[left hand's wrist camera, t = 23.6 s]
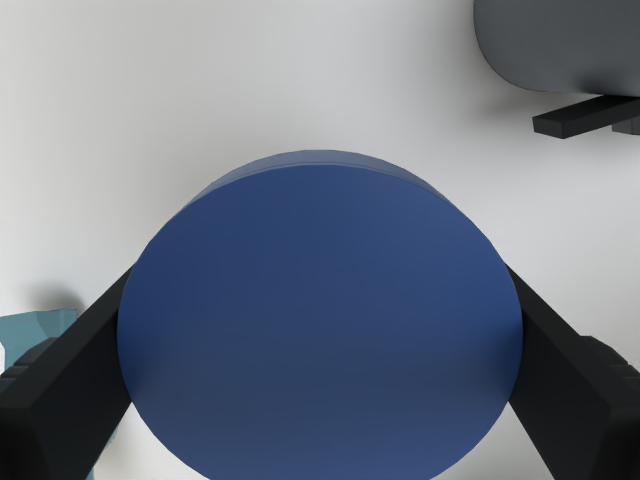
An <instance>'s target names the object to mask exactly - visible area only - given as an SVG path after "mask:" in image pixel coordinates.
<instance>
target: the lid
mask: <svg viewBox="0 0 640 480" xmlns="http://www.w3.org/2000/svg"><path fill="white" fill-rule="evenodd" d="M116 335H117V351H118V357H119V362H120V367H121V372H122V376H123V380H124V383H125V385H126V388H127V391H128V393H129V396H130V398H131V400H132V402H133V404H134V406H135V407H136V409H137V411H138V413H139V415H140V417H141V418H142V419H143V421H144V422H145V423H146V425H147V426H148V427H149V429H150V430H151V432H152V433H153V434H154V435H155V436H156V437H157V439H158V440H159V441H160V442H161V443H162V444H163V445H164V446H165V447H166V448H167V449H168V450H169V451H170V452H171V453H173V454H174V455H175V456H176V457H177V458H179V459H180V460H181V461H182V462H183V463H185V464H186V465H187V466H189V467H191V468H192V469H194V470H195V471H197V472H198V473H200V474H201V475H203V476H204V477H206V478H208V479H210V480H430V479H432V478H433V477H435V476H437V475H439V474H440V473H442V472H443V471H445V470H446V469H448V468H449V467H451V466H452V465H454V464H455V463H457V462H458V461H459V460H460V459H461V458H462V457H464V456H465V455H466V454H467V453H468V452H470V451H471V450H472V449H473V448H474V447H475V446H476V445H477V444H478V443H479V441H480V440H481V439H482V438H483V437H484V436H485V435H486V434H487V433H488V432H489V430H490V429H491V427H492V426H493V425H494V423H495V422H496V420H497V419H498V418H499V416H500V415H501V413H502V411H503V409H504V407H505V405H506V403H507V402H508V400H509V398H510V396H511V393H512V391H513V388H514V385H515V382H516V379H517V377H518V372H519V368H520V363H521V358H522V352H523V323H522V314H521V306H520V303H519V299H518V296H517V292H516V289H515V285H514V283H513V281H512V278H511V276H510V274H509V272H508V270H507V268H506V266H505V263H504V261H503V260H502V258H501V257H500V255H499V254H498V253H497V251H496V250H495V248H494V247H493V245H492V244H491V242H490V241H489V239H488V238H487V237H486V236H485V235H484V234H483V233H482V232H481V231H480V230H479V229H478V228H477V227H476V225H475V224H474V223H473V222H472V221H471V220H470V219H469V218H468V217H466V216H465V215H464V214H463V213H462V212H461V211H460V210H459V209H458V208H457V207H456V206H454V205H453V204H452V203H451V202H450V201H449V200H448V199H447V198H446V197H445V196H443V195H442V194H441V193H440V192H438V191H437V190H436V189H435V188H433V187H432V186H431V185H430V184H428V183H427V182H426V181H424V180H422V179H421V178H419V177H417V176H415V175H414V174H412V173H410V172H409V171H407V170H405V169H403V168H401V167H398V166H396V165H393V164H391V163H389V162H386V161H384V160H381V159H377V158H374V157H370V156H366V155H362V154H358V153H352V152H344V151H336V150H303V151H296V152H289V153H282V154H277V155H274V156H270V157H266V158H263V159H259V160H256V161H253V162H251V163H249V164H246V165H244V166H242V167H240V168H237V169H235V170H233V171H231V172H229V173H228V174H226V175H224V176H223V177H221V178H219V179H218V180H216V181H215V182H213V183H211V184H210V185H209V186H208V187H207V188H205V189H204V190H203V191H202V192H200V193H199V194H198V195H197V196H196V197H194V198H193V199H192V200H191V201H190V202H189V203H188V204H187V205H186V206H184V207H183V208H182V209H181V210H180V211H179V212H178V213H177V214H176V215H175V216H173V217H172V218H171V219H170V220H169V221H168V222H167V223H166V224H165V225H164V226H163V227H162V228H161V230H160V231H159V232H158V233H157V234H156V235H155V236H154V237H153V239H152V240H151V241H150V242H149V243H148V245H147V246H146V248H145V249H144V251H143V252H142V254H141V255H140V257H139V258H138V260H137V262H136V263H135V265H134V267H133V269H132V272H131V274H130V276H129V278H128V281H127V283H126V285H125V288H124V292H123V295H122V299H121V303H120V307H119V312H118V322H117V332H116Z"/></svg>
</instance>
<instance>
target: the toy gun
mask: <svg viewBox="0 0 640 480" xmlns="http://www.w3.org/2000/svg"><path fill="white" fill-rule="evenodd" d="M76 320H77V310H76V309H59V310H53V311H46V312H41V311H34V312H28V313H22V314H15V315H9V316H3V317H0V342H1V344H2V345H3V347H4V348H5V370H7V369H8V368H9V367H10V366H13V363H14V362H15V361H16V360H18V359H19V358H20V357H21V356H22V355H23V354H24V353H25V352H26V351H27V350H28V349H30V348H32V347H34V346H35V345H37V344H39V343H41V342H42V341H44V340H46V339H48V338H49V337H59V336H61V335H62V334H63V333H64V332H65V331H66V330H67V329H68V328H69V327H70V326H71V325H72V324H73V323H74V322H75V321H76ZM118 426H119V424H118ZM118 426H117V427H116V429H115V431H114V432H113V434H112V436H111V438H110V439H109V441H108V443H107V444H106V446H105V448H106V447H107V446H108V445H109V444H110V443H111V442H112V440H113V439H114V437H115V435H116V432H117V429H118ZM105 448H104V449H105ZM104 449H103V450H104ZM100 455H101V454H100ZM99 458H100V456H99ZM99 458H98V459H99ZM97 461H98V460H97ZM97 461H96V462H97ZM95 464H96V463H95ZM93 467H94V466H93ZM86 480H94V469H93V468H92V470H91V471H90V473H89V475H88V476H87V478H86Z"/></svg>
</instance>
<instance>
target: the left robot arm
mask: <svg viewBox="0 0 640 480" xmlns="http://www.w3.org/2000/svg"><path fill="white" fill-rule="evenodd" d="M504 263H505V262H504ZM134 265H135V264H134ZM134 265H133V266H132V267H130V268H129V269H128V270H127V271H126V272H125V273H124V274H123V275H122V276H121V277H120V278H119V279H118V280H117V281H116V282H115V283H114V284H113V285H112V286H111V287H110V288H109V289H108V290H107V291H106V292H105V293H104V294H103V295H102V296H101V297H100V298H99V299H98V300H97V301H95V302H94V303H93V304H92V305H91V306H90V307H89V308H88V309H87V310H86V311H85V312H84V313H83V314H82V315H81V316H80V317H79V318H78V319H77V320H76V321H75V322H74V323H73V324H72V325H71V326H70V327H69V328H68V329H67V330H66V331H65V332H64V333H63V334H62V335H61V336H59V337H49V338H48V339H46V340H44V341H42V342H41V343H39V344H37V345H35V346H34V347H32V348H30V349H28V350H27V351H26V352H25V353H24V354H23V355H22V356H21V357H20V358H19V359H18V360H16V361H15V362H14V363H13V366H10V367H9V368H8V369H7V370H5V371H4V372H3V373H2V374H1V375H0V480H86V478H87V476H88V475H89V473H90V471H91V470H92V468H93V466H94V465H95V463H96V461H97V460H98V458H99V456H100V454H101V453H102V451H103V449H104V448H105V446H106V444H107V443H108V441H109V439H110V438H111V436H112V434H113V432H114V431H115V429H116V427H117V426H118V424H119V422H120V421H121V419H122V417H123V416H124V414H125V412H126V410H127V409H128V407H129V405H130V404H131V402H132V400H131V398H130V396H129V393H128V391H127V388H126V385H125V383H124V380H123V376H122V372H121V367H120V362H119V357H118V351H117V335H116V332H117V322H118V312H119V307H120V303H121V299H122V295H123V292H124V288H125V285H126V283H127V281H128V278H129V276H130V274H131V272H132V269H133V267H134ZM505 266H506V268H507V270H508V272H509V274H510V276H511V278H512V281H513V283H514V285H515V289H516V292H517V296H518V299H519V303H520V306H521V314H522V323H523V352H522V358H521V363H520V368H519V372H518V377H517V379H516V382H515V385H514V388H513V391H512V393H511V396H510V398H509V400H508V402H509V403H510V405H511V407H512V408H513V410H514V412H515V413H516V415H517V417H518V418H519V420H520V422H521V424H522V425H523V427H524V429H525V430H526V432H527V434H528V435H529V437H530V439H531V440H532V442H533V444H534V446H535V447H536V449H537V451H538V452H539V454H540V456H541V457H542V459H543V461H544V462H545V464H546V466H547V468H548V469H549V471H550V473H551V474H552V476H553V478H554V479H555V480H640V373H639V372H638V371H637V370H636V369H635V368H634V367H633V366H631V365H628V362H627V361H626V360H625V359H624V358H623V357H622V356H620V355H619V354H618V353H617V352H616V351H615V350H614V349H613V348H611V347H610V346H608V345H606V344H604V343H602V342H601V341H599V340H597V339H595V338H594V337H592V336H580V335H579V334H578V333H577V332H576V331H575V330H574V329H573V328H572V327H571V326H570V325H568V324H567V323H566V322H565V321H564V320H563V319H562V318H561V317H560V316H559V315H558V314H557V313H556V312H555V311H554V310H553V309H552V308H551V307H550V306H549V305H548V304H547V303H546V302H545V301H544V300H543V299H542V298H541V297H540V296H539V295H538V294H537V293H536V292H535V291H533V290H532V289H531V288H530V287H529V286H528V285H527V284H526V283H525V282H524V281H523V280H522V279H521V278H520V277H519V276H518V275H517V274H516V273H515V272H514V271H513V270H512V269H511V268H510V267H509V266H508V265H507V264H506V263H505Z"/></svg>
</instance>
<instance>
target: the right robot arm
mask: <svg viewBox="0 0 640 480" xmlns="http://www.w3.org/2000/svg"><path fill="white" fill-rule="evenodd" d="M532 118H533V126H534V132H537V133H541V134H544V135H548V136H552V137H556V138H560V139H566V138H569V137H572V136H575V135H579V134H582V133H585V132H589V131H592V130H595V129H599V128H602V127H605V126H608V125H612V131H614V132H620V133H625V134H631V135H640V97H637V96H618V95H602V96H599V97H596V98H593V99H589V100H586V101H583V102H580V103H577V104H573V105H570V106H567V107H564V108H561V109H557V110H554V111H551V112H548V113H544V114H541V115H538V116H535V117H532Z"/></svg>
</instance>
